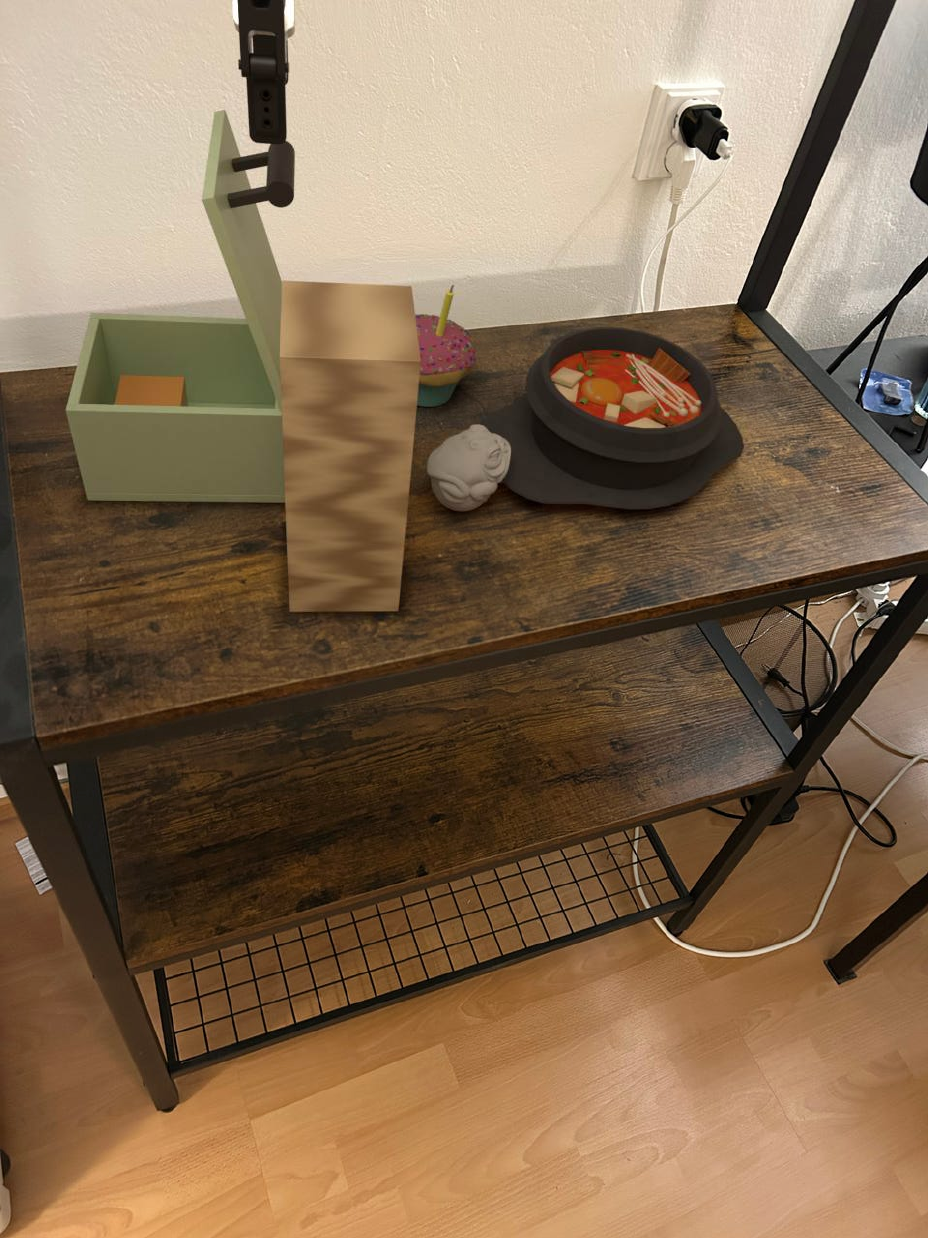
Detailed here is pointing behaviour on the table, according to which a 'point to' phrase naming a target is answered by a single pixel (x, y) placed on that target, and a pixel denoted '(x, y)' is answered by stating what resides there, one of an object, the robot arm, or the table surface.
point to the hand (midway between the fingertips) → (270, 111)
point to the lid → (249, 232)
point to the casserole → (615, 423)
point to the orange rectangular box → (151, 391)
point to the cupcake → (442, 355)
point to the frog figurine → (468, 467)
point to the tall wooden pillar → (347, 441)
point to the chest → (176, 413)
